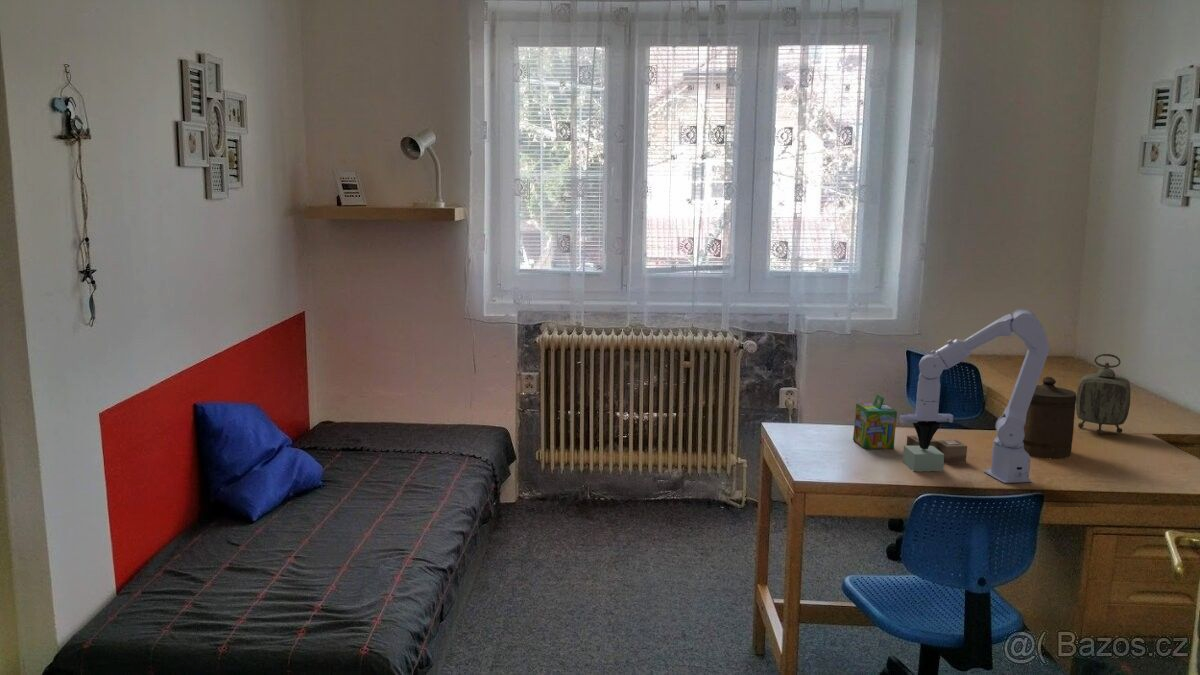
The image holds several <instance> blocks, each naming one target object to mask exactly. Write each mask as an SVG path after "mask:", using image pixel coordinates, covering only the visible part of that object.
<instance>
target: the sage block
mask: <svg viewBox="0 0 1200 675" xmlns="http://www.w3.org/2000/svg"><path fill="white" fill-rule="evenodd" d="M902 463H903V465H905V466H906V465H907V466H908V467H907V466H906V467H907V468H908V469H909V470H911V471H912V470H913V471H941V472H940V473H944V464H945V463H944V454H943V453H942V452H940V451H939V450H938V449H936V448H935V447H934V446H929V447H928V449H922V448H920V446H906V445H903V453H902ZM913 471H912V472H913Z"/></svg>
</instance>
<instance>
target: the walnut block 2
mask: <svg viewBox="0 0 1200 675" xmlns="http://www.w3.org/2000/svg"><path fill="white" fill-rule="evenodd" d="M935 440H936V439H935ZM936 441H938V442H937V449H938V450H939V451H940V452H942V453H943V454H944V464H945V463H947V464H966V463H967V453H968V445H967V444H965V443H963V442H961V441H959V440H957V439H937V440H936Z"/></svg>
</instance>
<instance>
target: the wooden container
mask: <svg viewBox="0 0 1200 675" xmlns="http://www.w3.org/2000/svg"><path fill="white" fill-rule="evenodd" d="M1056 383H1057V381H1056V379H1055V378H1053V377H1052V376H1046V377H1044V378H1042V384H1040V385H1039V384H1037V386H1036V389H1035V391H1034V394H1033V397H1032V400H1031V402H1030V405H1029V408H1028V411H1027V414H1026V422H1025V425H1024V435H1025V436H1024V440H1023V443H1024V445H1023V446H1024V450H1025V451H1026V452H1027V453H1028V454H1029V456H1030V457H1033V456H1034V458H1038V457H1039V459H1046V458H1048V460H1062V459H1061V458H1063V459H1067V458H1066V457H1068V458H1070V457H1071V455H1072V450H1073V449H1072V448H1073V438H1074V428H1075V413H1076V397H1077V392H1075V391H1074V390H1071V389H1067V388H1063V387H1060V386H1059V387H1058V386H1056V385H1055V384H1056ZM1069 456H1070V457H1069ZM1049 458H1051V459H1049Z"/></svg>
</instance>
